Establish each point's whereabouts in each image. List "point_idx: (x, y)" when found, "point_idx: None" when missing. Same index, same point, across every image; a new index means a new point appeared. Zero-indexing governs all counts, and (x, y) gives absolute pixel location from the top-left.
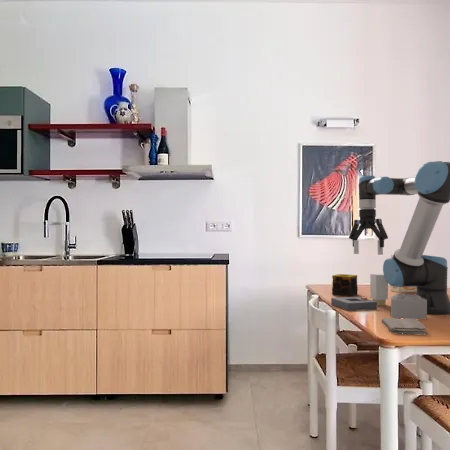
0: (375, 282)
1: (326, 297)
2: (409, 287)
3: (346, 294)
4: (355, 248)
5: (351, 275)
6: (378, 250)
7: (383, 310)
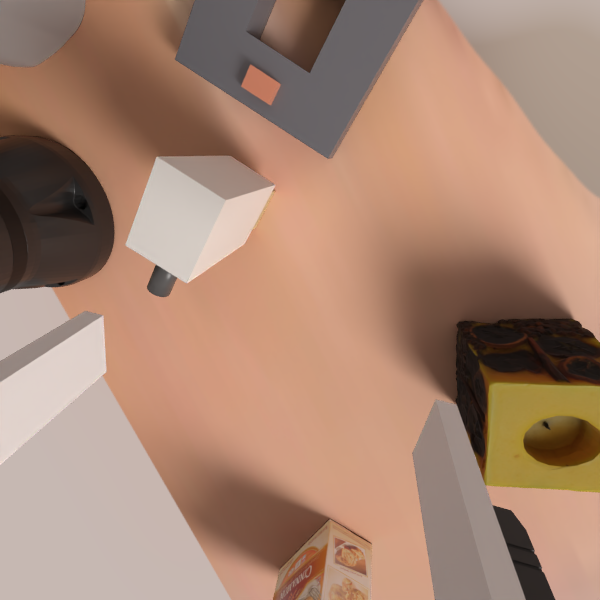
0: (192, 160)
1: (570, 205)
2: (300, 562)
3: (484, 327)
4: (447, 464)
5: (512, 456)
6: (55, 337)
7: (155, 56)
